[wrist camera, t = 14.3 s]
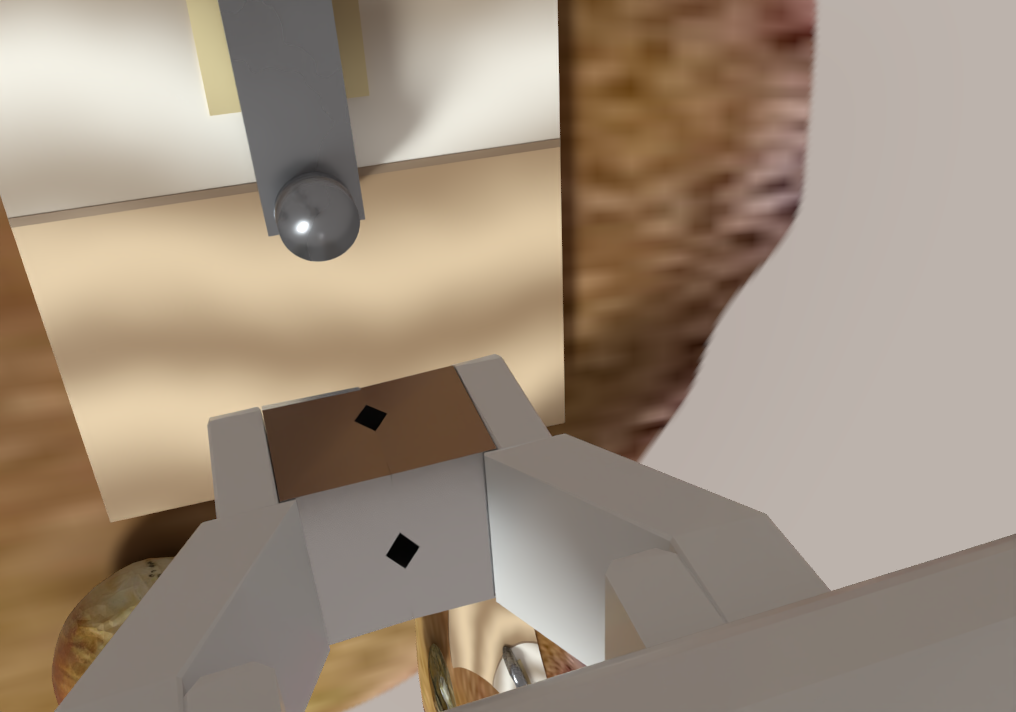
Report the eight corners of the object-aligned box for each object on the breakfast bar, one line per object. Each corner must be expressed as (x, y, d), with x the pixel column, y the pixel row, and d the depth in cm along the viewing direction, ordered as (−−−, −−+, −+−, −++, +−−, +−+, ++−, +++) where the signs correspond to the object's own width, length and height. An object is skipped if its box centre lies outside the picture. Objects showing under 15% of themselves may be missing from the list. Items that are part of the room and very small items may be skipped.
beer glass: (503, 572, 44) (636, 871, 32) (356, 572, 42) (438, 897, 29) (544, 446, 41) (707, 721, 29) (389, 437, 39) (495, 735, 26)
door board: (-134, -234, 24) (-175, -239, 21) (541, -262, 28) (584, -270, 25) (111, 506, 36) (107, 566, 34) (556, 410, 41) (587, 456, 38)
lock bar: (355, 209, 32) (375, 251, 29) (265, 224, 32) (276, 270, 28) (285, -228, 26) (301, -232, 23) (170, -220, 25) (170, -223, 22)
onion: (78, 510, 36) (59, 669, 30) (287, 529, 39) (312, 675, 33) (48, 659, 39) (24, 834, 32) (246, 665, 42) (261, 824, 36)
